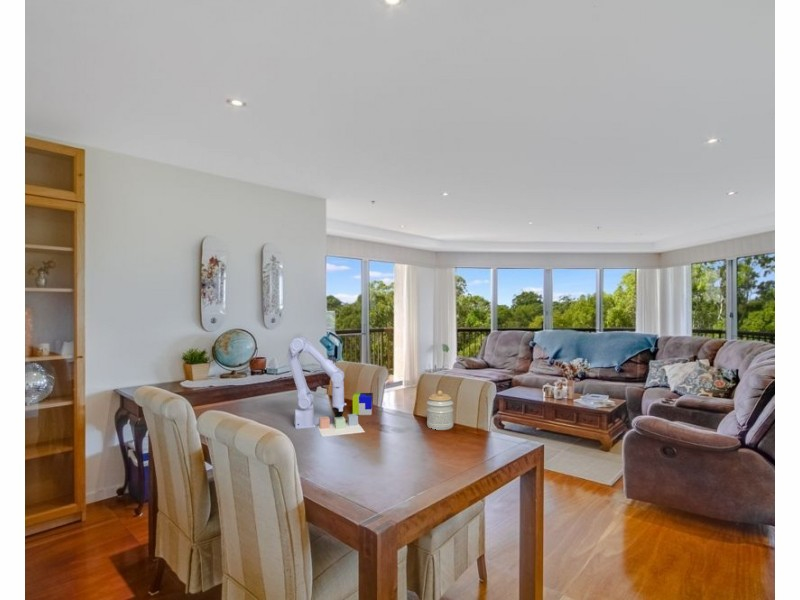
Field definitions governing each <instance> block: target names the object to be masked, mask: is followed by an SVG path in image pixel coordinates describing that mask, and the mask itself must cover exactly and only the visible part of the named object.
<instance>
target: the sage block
mask: <svg viewBox="0 0 800 600" xmlns="http://www.w3.org/2000/svg"><path fill="white" fill-rule="evenodd" d="M333 422H334V423H333V424H334V427H335V428H336V429H343V428H345V423H346V417H344V416H342V417H335V416H334V420H333Z"/></svg>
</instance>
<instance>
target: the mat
mask: <svg viewBox="0 0 800 600" xmlns="http://www.w3.org/2000/svg"><path fill="white" fill-rule="evenodd" d="M317 428H318V431H319V433H320V434H321V437H323V438H324V437H332V436H340V435H350V434H351V435H353V434H361V433H366V431H365V430H364V429H363V427H362V426H361V424H359V423H358V425H355V426H349V425H348V424H347V422H345V428H343V429H336V428H335V427H334V423H330V428H326V429H320V427H319V424H318V425H317Z"/></svg>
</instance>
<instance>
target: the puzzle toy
mask: <svg viewBox="0 0 800 600" xmlns="http://www.w3.org/2000/svg"><path fill="white" fill-rule="evenodd" d="M373 394H374V393H373V392H354V394H353V395H352V414H357V415H358V416H371V415H373V412H374V403H373V402H374V401H373V400H374V398H373V397H374V395H373Z"/></svg>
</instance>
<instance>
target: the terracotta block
mask: <svg viewBox="0 0 800 600" xmlns="http://www.w3.org/2000/svg"><path fill="white" fill-rule="evenodd" d="M330 420H331V419H330V417H329V416H328V415H327V416H319V417H318V425H319V427H320V429H326V428H330V424H331V423H330V422H331V421H330Z"/></svg>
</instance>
